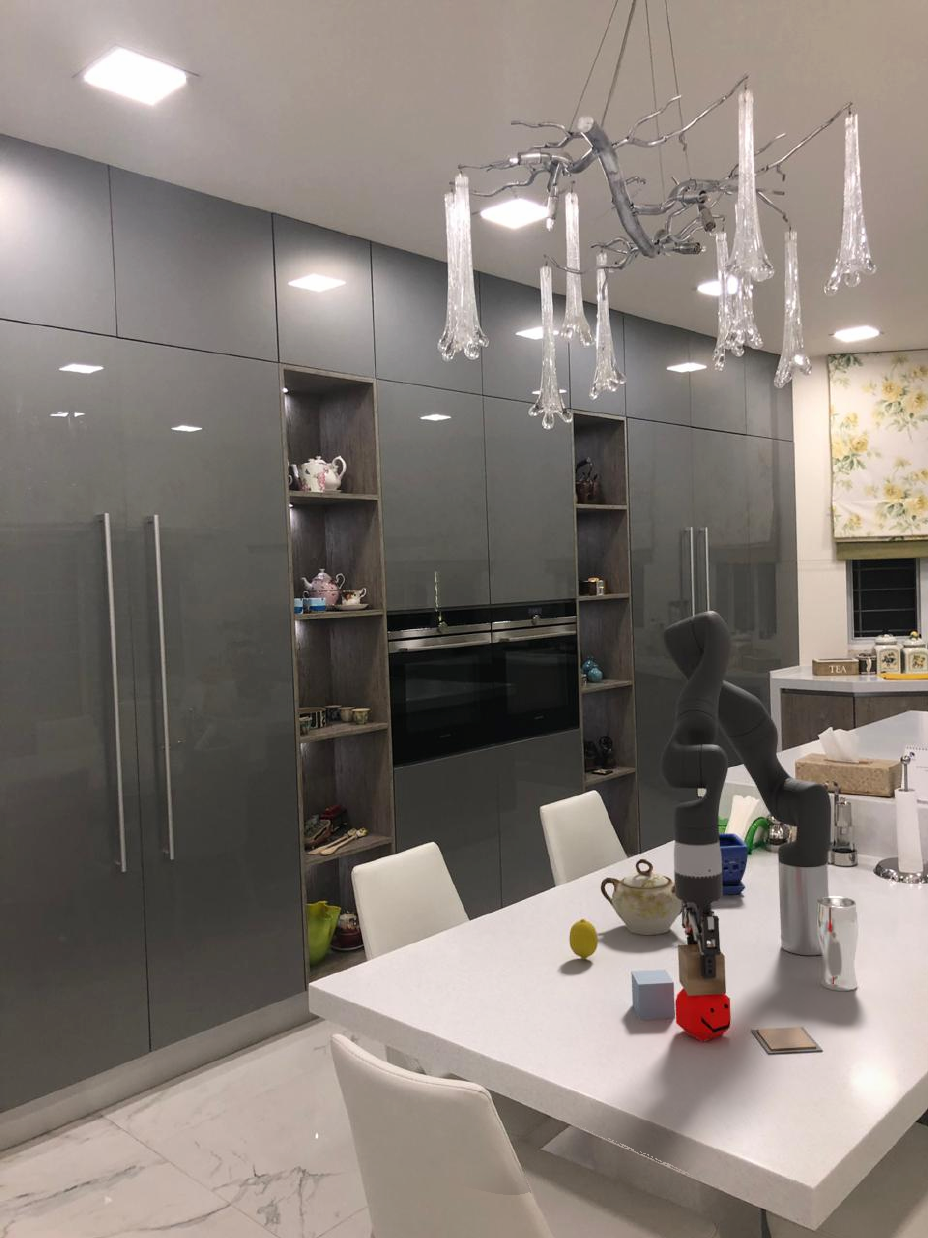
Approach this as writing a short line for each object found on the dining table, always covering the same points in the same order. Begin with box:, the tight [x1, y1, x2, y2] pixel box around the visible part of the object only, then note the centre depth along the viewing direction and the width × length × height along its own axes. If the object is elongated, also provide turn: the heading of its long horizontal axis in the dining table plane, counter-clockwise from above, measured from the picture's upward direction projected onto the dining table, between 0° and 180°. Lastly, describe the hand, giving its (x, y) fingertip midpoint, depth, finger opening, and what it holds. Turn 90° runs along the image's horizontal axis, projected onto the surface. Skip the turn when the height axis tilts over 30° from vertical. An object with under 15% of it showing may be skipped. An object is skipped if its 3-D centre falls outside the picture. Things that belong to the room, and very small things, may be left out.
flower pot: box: [719, 832, 749, 895], centre depth 242 cm, size 13×13×12 cm
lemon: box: [568, 918, 599, 960], centre depth 199 cm, size 6×6×8 cm
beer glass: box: [817, 895, 859, 992], centre depth 181 cm, size 7×7×15 cm
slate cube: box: [630, 969, 676, 1020], centre depth 173 cm, size 6×6×6 cm
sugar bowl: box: [600, 858, 682, 936], centre depth 215 cm, size 20×15×15 cm
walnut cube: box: [677, 942, 727, 996], centre depth 163 cm, size 6×6×6 cm
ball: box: [674, 987, 732, 1043], centre depth 163 cm, size 8×8×8 cm
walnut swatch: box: [750, 1026, 824, 1055], centre depth 160 cm, size 8×8×1 cm
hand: (701, 968), depth 163 cm, fingers open, 8 cm apart
